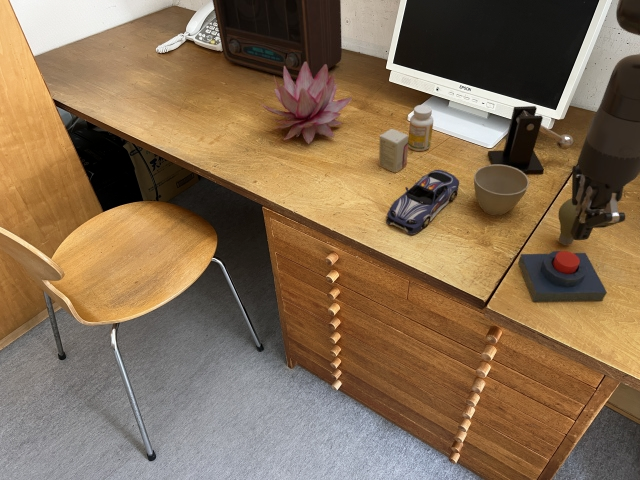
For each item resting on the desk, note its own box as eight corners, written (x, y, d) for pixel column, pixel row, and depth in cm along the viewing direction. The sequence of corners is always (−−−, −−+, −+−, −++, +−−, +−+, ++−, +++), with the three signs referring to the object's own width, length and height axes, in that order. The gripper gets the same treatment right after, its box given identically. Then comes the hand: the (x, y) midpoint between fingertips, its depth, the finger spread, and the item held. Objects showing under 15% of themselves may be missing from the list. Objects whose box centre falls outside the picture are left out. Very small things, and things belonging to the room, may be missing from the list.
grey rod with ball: (562, 146, 105) (573, 135, 103) (567, 154, 102) (579, 143, 101) (513, 119, 101) (524, 107, 99) (517, 127, 98) (528, 114, 96)
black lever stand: (531, 153, 109) (546, 102, 100) (542, 174, 103) (559, 120, 94) (487, 155, 110) (498, 103, 101) (495, 175, 104) (508, 122, 95)
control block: (581, 261, 84) (589, 245, 81) (602, 301, 77) (611, 284, 75) (517, 262, 85) (523, 246, 82) (533, 302, 78) (539, 285, 75)
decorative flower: (289, 162, 112) (282, 103, 102) (254, 124, 126) (245, 69, 116) (366, 136, 119) (367, 78, 108) (325, 103, 133) (322, 48, 122)
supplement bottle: (415, 154, 112) (419, 117, 105) (403, 143, 115) (406, 107, 109) (435, 147, 113) (439, 110, 107) (422, 137, 117) (425, 101, 110)
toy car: (381, 222, 94) (382, 202, 91) (430, 178, 104) (432, 159, 101) (415, 238, 91) (417, 218, 87) (462, 191, 100) (466, 171, 97)
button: (571, 258, 80) (575, 250, 78) (579, 273, 77) (583, 266, 76) (549, 258, 80) (552, 251, 79) (557, 274, 77) (560, 266, 76)
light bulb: (578, 258, 85) (597, 215, 78) (545, 248, 87) (561, 205, 80) (583, 238, 88) (601, 196, 81) (551, 230, 90) (566, 187, 83)
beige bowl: (512, 191, 99) (520, 163, 94) (526, 223, 92) (536, 193, 87) (464, 193, 100) (469, 164, 95) (474, 224, 93) (480, 195, 88)
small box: (407, 165, 108) (409, 135, 103) (395, 173, 106) (397, 143, 101) (389, 157, 111) (391, 127, 106) (377, 165, 109) (378, 135, 104)
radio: (220, 65, 156) (199, -38, 136) (256, 46, 166) (241, -53, 146) (309, 89, 140) (300, -24, 119) (342, 66, 150) (340, -42, 129)
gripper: (675, 167, 57) (621, 267, 69) (626, 113, 67) (586, 209, 78) (610, 170, 57) (568, 268, 69) (570, 116, 67) (540, 210, 79)
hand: (578, 236), depth 74 cm, fingers closed
